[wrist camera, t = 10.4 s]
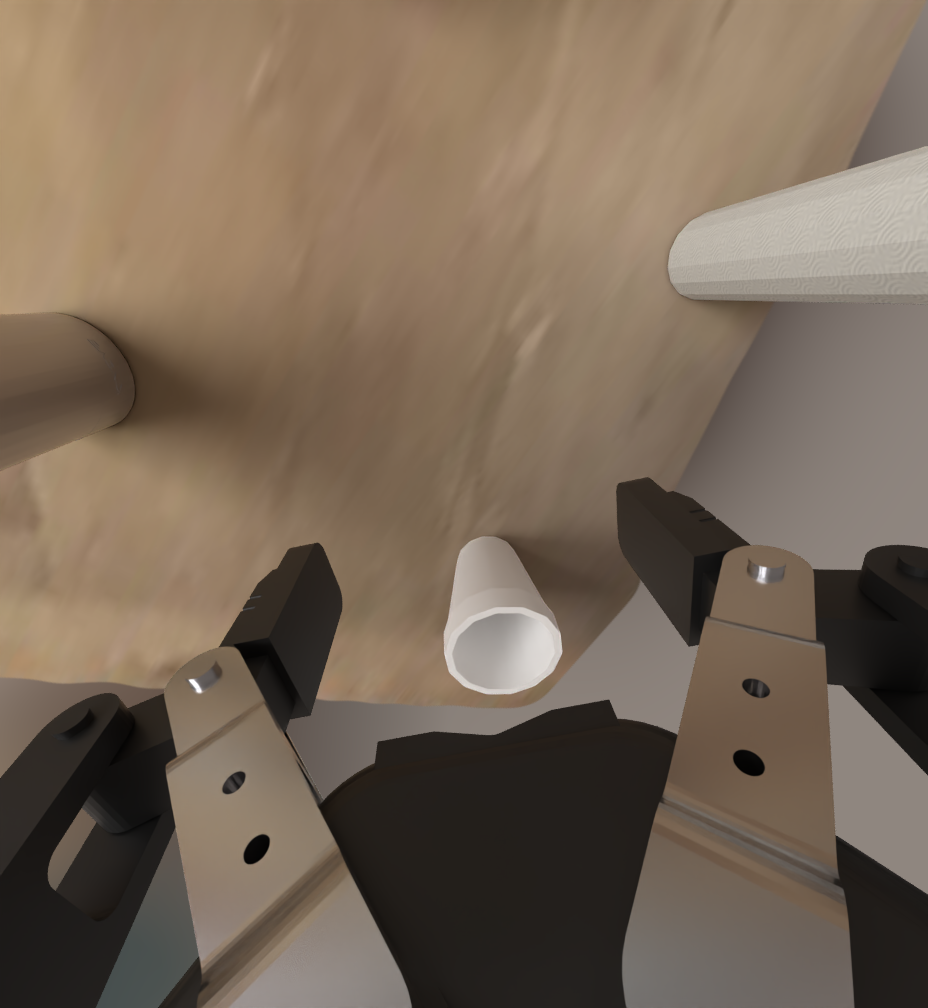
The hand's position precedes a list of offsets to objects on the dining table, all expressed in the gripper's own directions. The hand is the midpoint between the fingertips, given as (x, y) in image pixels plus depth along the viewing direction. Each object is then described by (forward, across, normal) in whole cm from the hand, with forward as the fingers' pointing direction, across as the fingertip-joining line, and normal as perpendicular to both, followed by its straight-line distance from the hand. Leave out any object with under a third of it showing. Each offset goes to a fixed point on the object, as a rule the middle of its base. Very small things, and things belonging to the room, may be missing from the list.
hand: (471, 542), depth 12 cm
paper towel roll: (+28, -22, -4) cm, 36 cm away
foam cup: (+28, 0, +20) cm, 35 cm away
